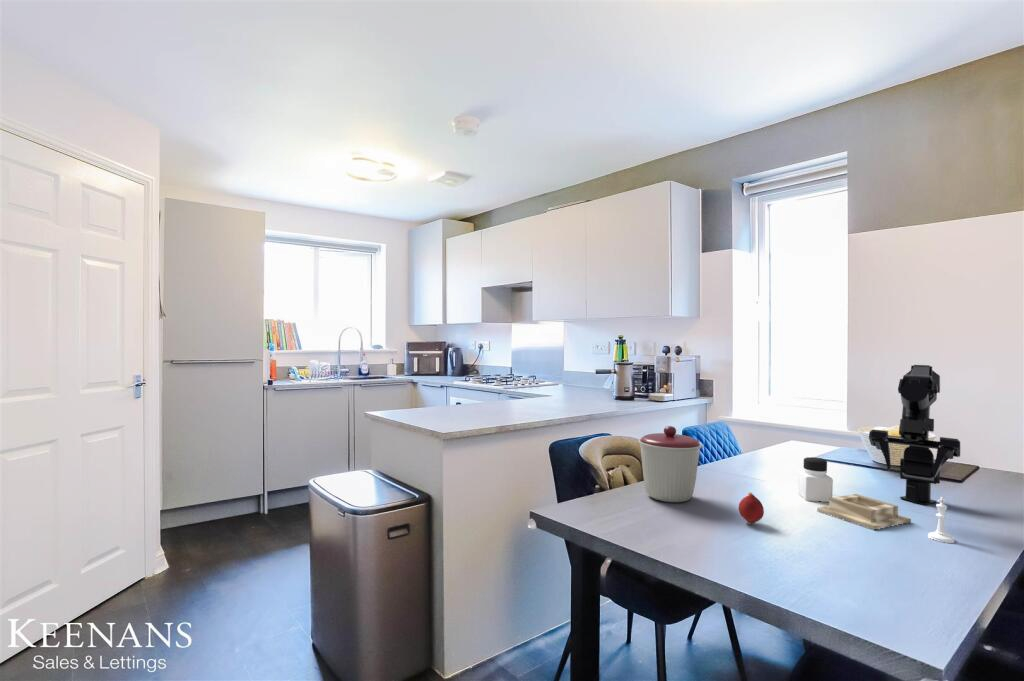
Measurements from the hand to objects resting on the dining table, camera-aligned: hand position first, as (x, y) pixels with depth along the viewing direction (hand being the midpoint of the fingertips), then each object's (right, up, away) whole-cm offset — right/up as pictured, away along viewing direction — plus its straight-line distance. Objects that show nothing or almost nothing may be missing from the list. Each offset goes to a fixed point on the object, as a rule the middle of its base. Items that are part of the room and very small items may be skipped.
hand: (910, 473), depth 133 cm
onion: (-42, -13, -1) cm, 44 cm away
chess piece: (0, -13, -9) cm, 16 cm away
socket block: (-9, -13, +5) cm, 17 cm away
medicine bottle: (-12, -13, +21) cm, 28 cm away
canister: (-56, -12, +20) cm, 61 cm away
